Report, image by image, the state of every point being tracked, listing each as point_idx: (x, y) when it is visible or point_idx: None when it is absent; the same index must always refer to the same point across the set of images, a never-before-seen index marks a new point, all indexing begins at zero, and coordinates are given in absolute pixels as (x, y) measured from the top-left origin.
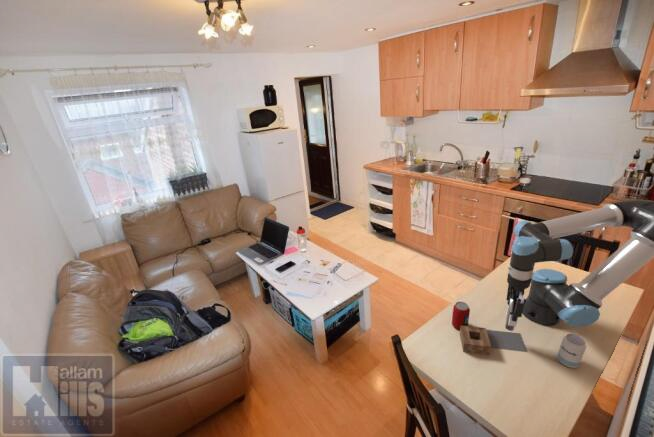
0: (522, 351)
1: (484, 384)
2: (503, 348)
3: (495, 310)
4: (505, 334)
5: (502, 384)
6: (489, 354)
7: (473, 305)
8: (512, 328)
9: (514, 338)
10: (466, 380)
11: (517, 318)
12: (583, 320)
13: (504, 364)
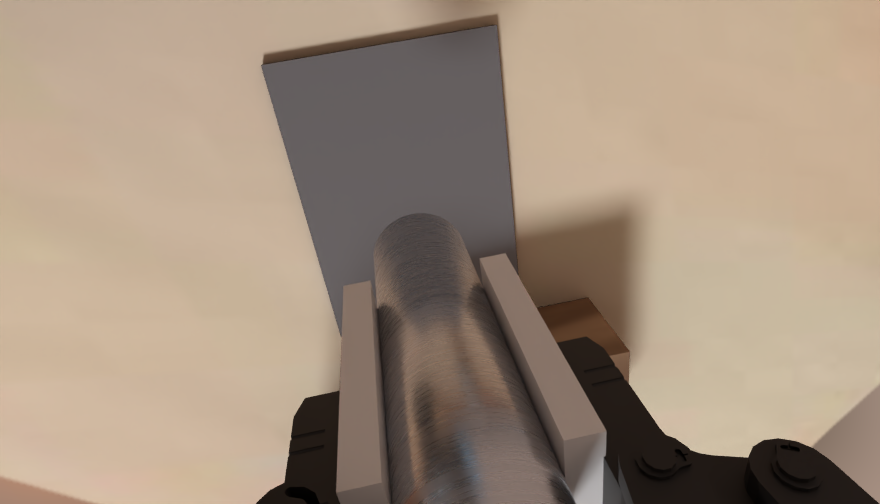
0: (500, 73)
1: (798, 313)
2: (506, 215)
3: (11, 264)
4: (336, 195)
5: (799, 227)
6: (592, 304)
7: (62, 420)
8: (465, 248)
9: (359, 125)
10: (774, 388)
11: (558, 347)
12: None
13: (648, 211)
